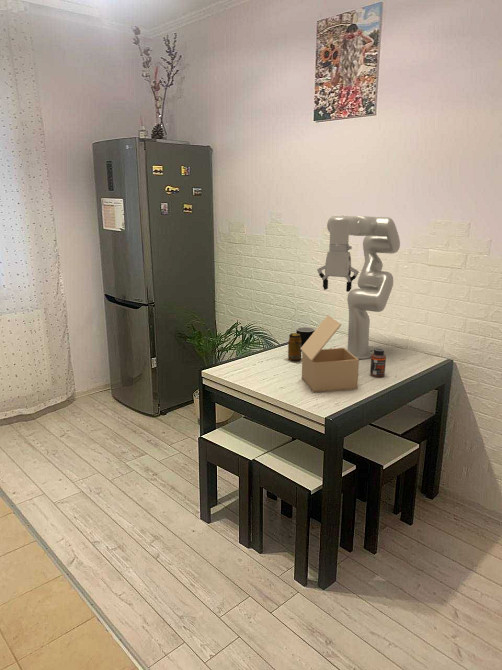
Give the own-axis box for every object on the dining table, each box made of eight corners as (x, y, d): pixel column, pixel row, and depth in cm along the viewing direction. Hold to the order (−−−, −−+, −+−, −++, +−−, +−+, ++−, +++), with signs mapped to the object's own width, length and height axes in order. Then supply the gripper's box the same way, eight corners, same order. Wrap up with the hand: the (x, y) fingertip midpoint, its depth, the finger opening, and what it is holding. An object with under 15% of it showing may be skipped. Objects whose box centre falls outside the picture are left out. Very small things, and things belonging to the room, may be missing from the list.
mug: (309, 353, 246) (309, 332, 243) (292, 350, 251) (293, 330, 248) (320, 346, 255) (321, 327, 253) (304, 344, 260) (304, 324, 257)
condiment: (295, 356, 241) (295, 331, 238) (307, 360, 235) (308, 335, 232) (283, 359, 237) (283, 334, 234) (296, 363, 231) (296, 338, 227)
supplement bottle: (376, 378, 211) (378, 352, 208) (367, 374, 217) (368, 348, 214) (387, 376, 214) (389, 350, 211) (378, 371, 219) (379, 346, 216)
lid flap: (328, 315, 207) (327, 315, 207) (341, 324, 193) (340, 324, 193) (301, 349, 209) (300, 348, 208) (312, 360, 194) (311, 359, 194)
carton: (343, 375, 216) (344, 347, 213) (357, 388, 201) (358, 359, 197) (301, 378, 213) (302, 350, 209) (313, 392, 197) (313, 362, 194)
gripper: (362, 248, 207) (359, 290, 211) (321, 246, 215) (320, 287, 219) (357, 250, 200) (354, 293, 205) (315, 248, 208) (313, 290, 212)
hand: (336, 290), depth 212 cm, fingers open, 9 cm apart
